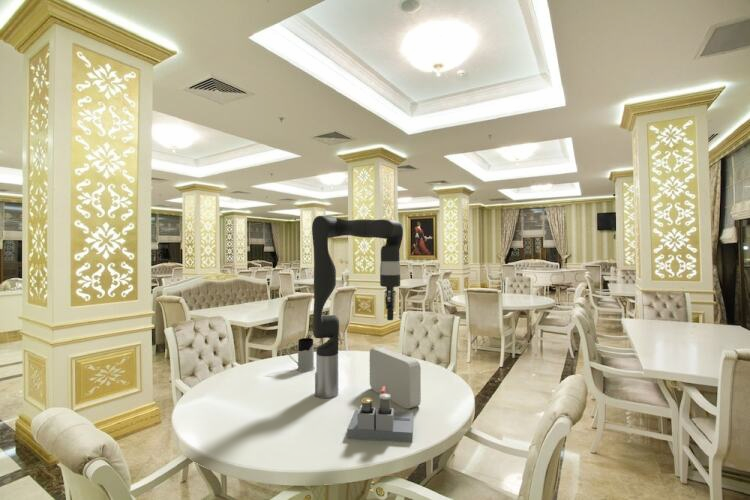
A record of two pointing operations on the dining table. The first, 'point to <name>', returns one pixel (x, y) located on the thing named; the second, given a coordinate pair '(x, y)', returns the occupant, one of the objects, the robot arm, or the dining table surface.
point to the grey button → (385, 403)
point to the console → (381, 426)
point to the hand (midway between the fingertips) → (390, 319)
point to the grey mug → (305, 354)
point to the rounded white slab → (396, 376)
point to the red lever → (383, 390)
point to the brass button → (367, 405)
